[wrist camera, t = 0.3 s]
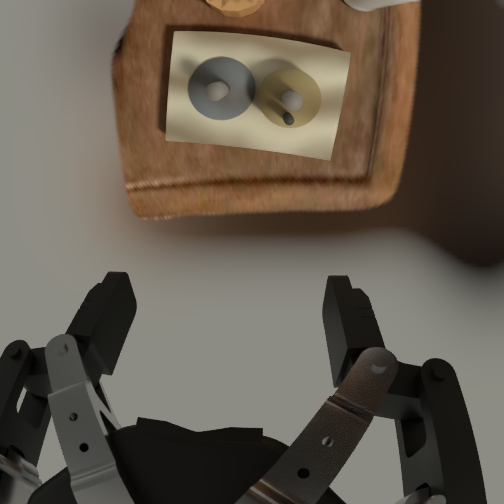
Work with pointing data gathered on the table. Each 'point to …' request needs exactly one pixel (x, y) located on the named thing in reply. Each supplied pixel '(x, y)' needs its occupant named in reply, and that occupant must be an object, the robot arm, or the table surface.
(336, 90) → the gear board
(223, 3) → the gear
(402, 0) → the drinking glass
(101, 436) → the robot arm
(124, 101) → the table surface
